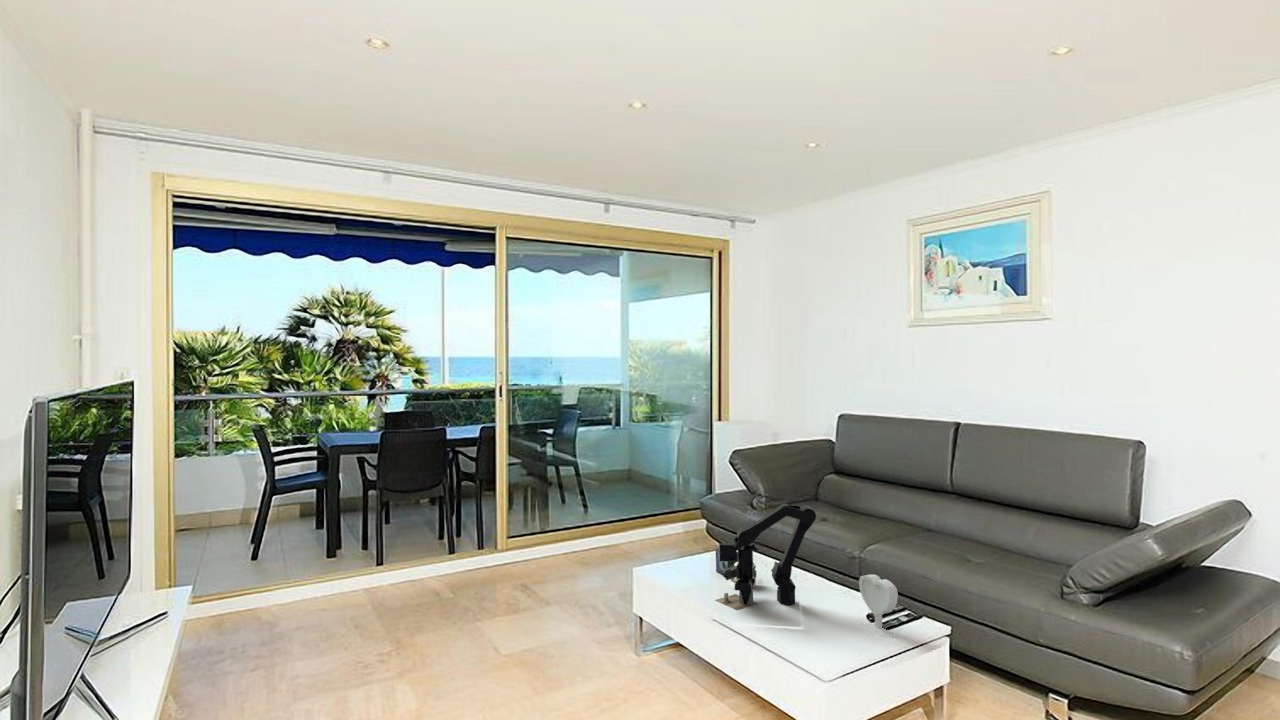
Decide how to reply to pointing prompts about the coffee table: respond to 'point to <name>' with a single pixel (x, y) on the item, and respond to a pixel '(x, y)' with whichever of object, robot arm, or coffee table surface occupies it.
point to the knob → (750, 600)
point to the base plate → (733, 601)
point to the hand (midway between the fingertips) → (746, 601)
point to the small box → (723, 564)
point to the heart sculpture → (878, 600)
